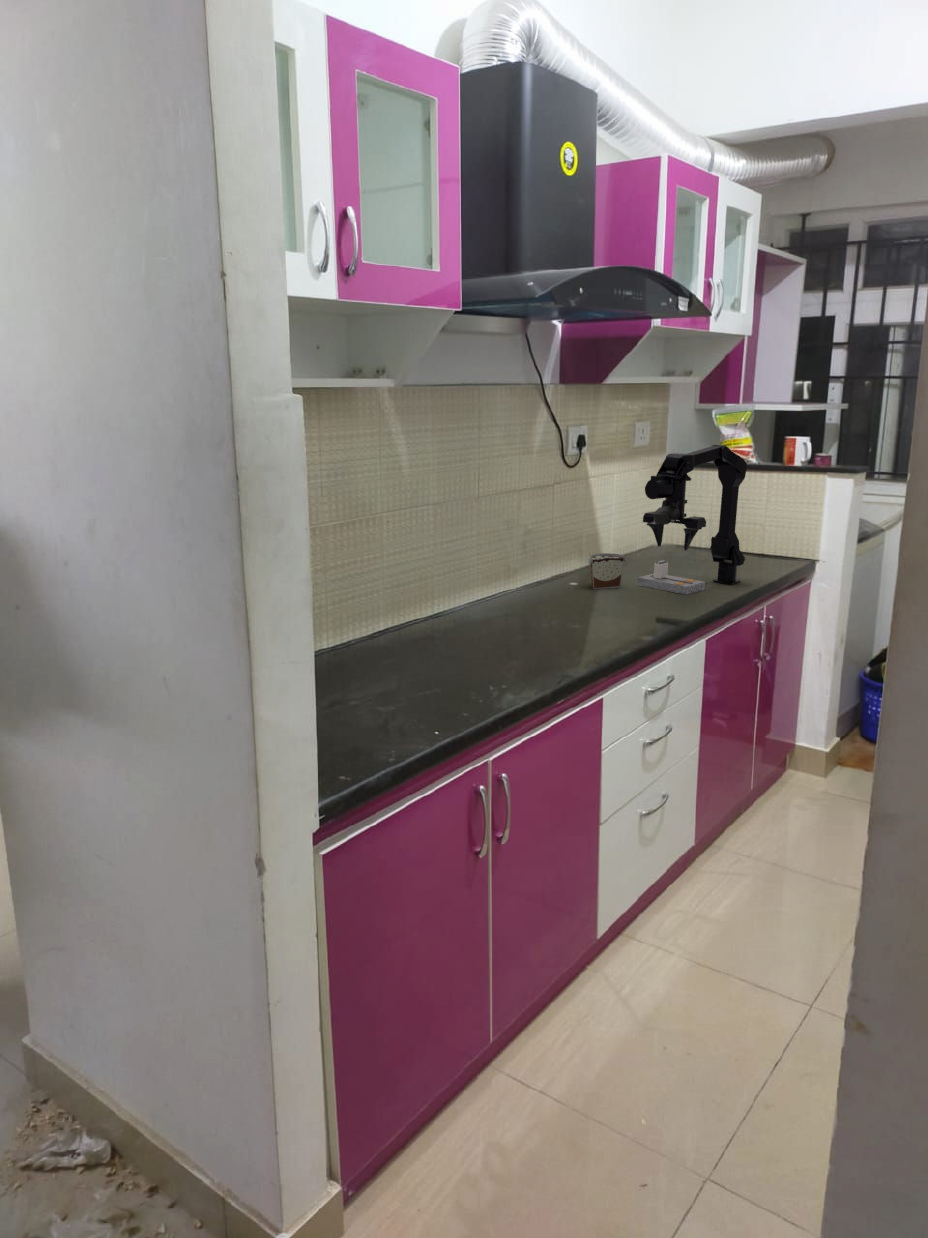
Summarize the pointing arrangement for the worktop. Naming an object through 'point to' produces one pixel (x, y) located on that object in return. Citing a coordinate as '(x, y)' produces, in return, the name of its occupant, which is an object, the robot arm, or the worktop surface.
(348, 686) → the worktop surface
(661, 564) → the fader tab
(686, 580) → the console
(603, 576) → the food container
